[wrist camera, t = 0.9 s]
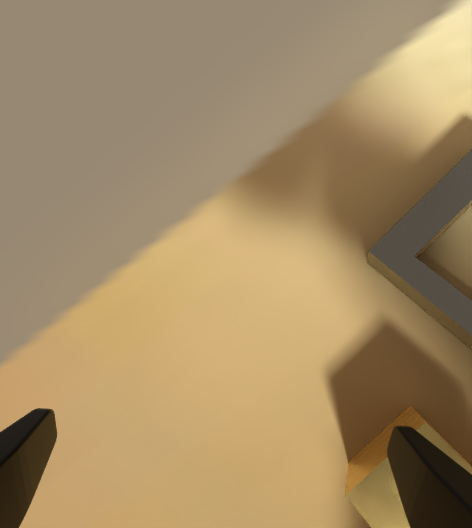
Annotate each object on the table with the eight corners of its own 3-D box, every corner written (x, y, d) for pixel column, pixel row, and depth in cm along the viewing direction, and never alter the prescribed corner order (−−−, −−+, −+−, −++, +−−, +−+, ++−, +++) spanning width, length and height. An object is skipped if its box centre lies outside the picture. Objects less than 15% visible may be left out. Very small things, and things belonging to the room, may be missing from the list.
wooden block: (490, 484, 16) (537, 532, 12) (420, 546, 16) (441, 614, 12) (409, 405, 18) (426, 422, 13) (348, 462, 18) (345, 496, 14)
